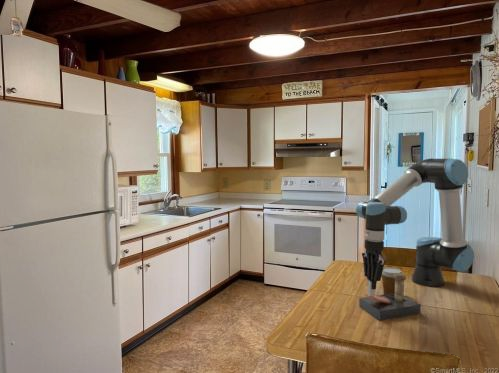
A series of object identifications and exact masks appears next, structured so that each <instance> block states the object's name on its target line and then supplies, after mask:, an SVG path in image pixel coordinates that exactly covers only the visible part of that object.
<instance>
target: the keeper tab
mask: <svg viewBox="0 0 499 373" xmlns="http://www.w3.org/2000/svg"><path fill="white" fill-rule="evenodd" d="M365 297H368V298H370V299H372V300H374V301H380V302H385V303H391V304H392V303H393V301H391V300H389V299H388V298H386V297H384V296H383V297H379V296H377V295H375V296H371V297H370V296H368V293H365Z"/></svg>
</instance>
